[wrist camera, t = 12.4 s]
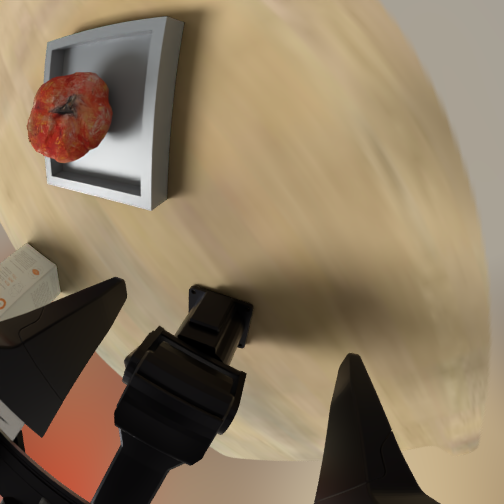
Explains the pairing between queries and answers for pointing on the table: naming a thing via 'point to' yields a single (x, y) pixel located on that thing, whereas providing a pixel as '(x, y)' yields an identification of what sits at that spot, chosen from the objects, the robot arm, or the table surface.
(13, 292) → the small box
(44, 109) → the pomegranate
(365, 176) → the table surface
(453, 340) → the table surface
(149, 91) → the tray
